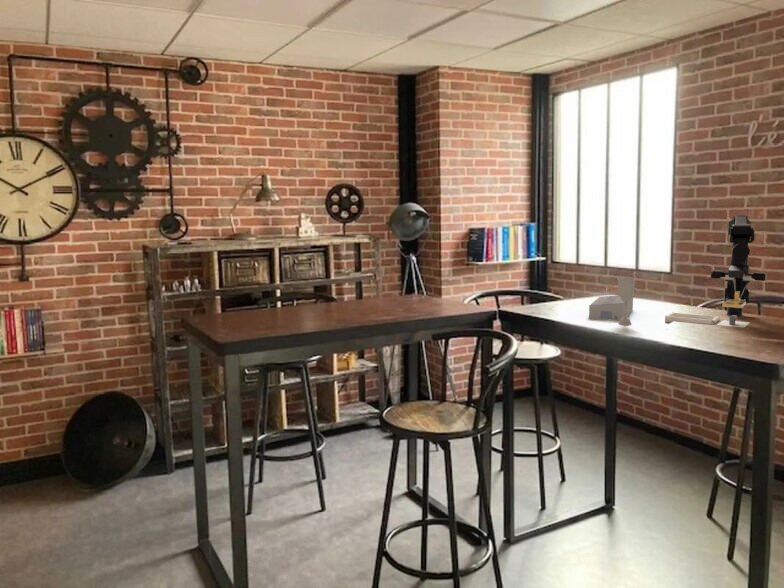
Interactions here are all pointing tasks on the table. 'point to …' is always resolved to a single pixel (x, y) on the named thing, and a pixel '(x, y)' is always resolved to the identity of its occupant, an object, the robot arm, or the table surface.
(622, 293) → the chalice
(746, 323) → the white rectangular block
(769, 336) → the table surface
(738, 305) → the tan notched block
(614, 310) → the warehouse
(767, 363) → the table surface
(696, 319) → the tray
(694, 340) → the table surface
